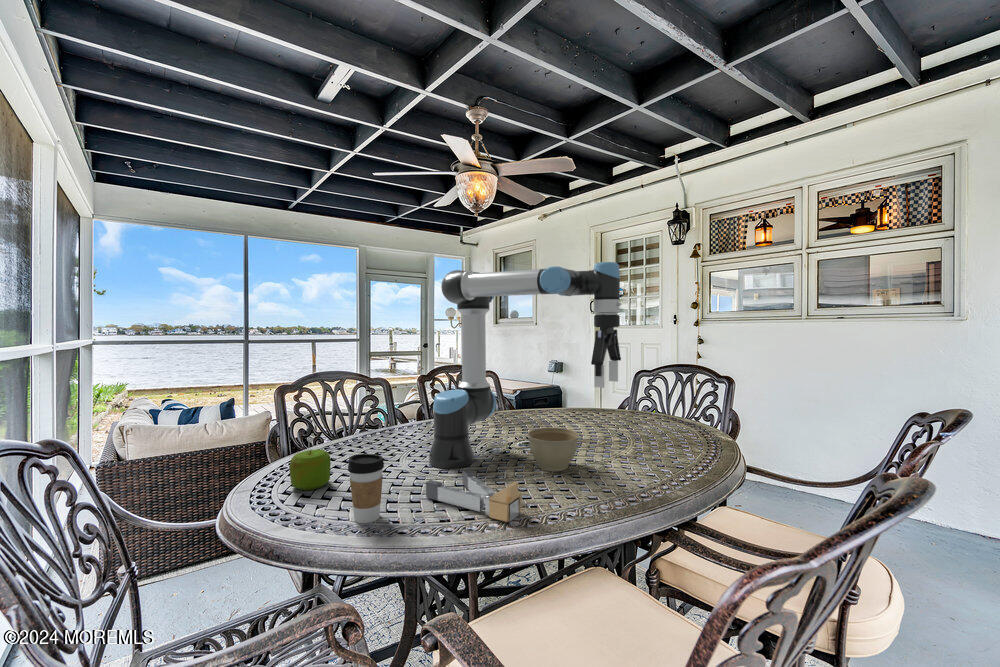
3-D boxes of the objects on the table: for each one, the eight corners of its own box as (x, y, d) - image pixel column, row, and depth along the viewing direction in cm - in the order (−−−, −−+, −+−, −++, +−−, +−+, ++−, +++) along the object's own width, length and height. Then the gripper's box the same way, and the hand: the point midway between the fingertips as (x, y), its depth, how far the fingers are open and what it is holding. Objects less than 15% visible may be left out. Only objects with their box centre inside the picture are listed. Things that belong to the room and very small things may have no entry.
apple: (322, 476, 136) (321, 441, 136) (337, 485, 128) (337, 448, 128) (284, 486, 128) (283, 449, 128) (298, 497, 121) (297, 457, 120)
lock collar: (521, 511, 110) (520, 480, 109) (507, 522, 104) (507, 489, 104) (503, 506, 112) (503, 476, 112) (489, 517, 107) (489, 485, 106)
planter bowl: (521, 472, 139) (521, 437, 138) (536, 457, 153) (536, 425, 153) (572, 478, 132) (572, 443, 132) (583, 462, 147) (583, 430, 147)
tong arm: (494, 506, 113) (494, 489, 113) (488, 507, 112) (488, 491, 112) (468, 483, 128) (468, 469, 128) (462, 484, 128) (462, 470, 127)
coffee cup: (353, 511, 111) (352, 452, 111) (387, 509, 112) (386, 451, 112) (344, 526, 103) (343, 463, 103) (381, 525, 104) (380, 462, 103)
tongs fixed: (518, 514, 109) (518, 496, 109) (510, 521, 105) (509, 502, 105) (436, 493, 122) (436, 477, 122) (426, 498, 119) (425, 482, 118)
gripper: (606, 313, 121) (605, 391, 122) (630, 314, 142) (630, 379, 143) (579, 314, 125) (580, 389, 125) (607, 314, 146) (607, 378, 147)
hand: (606, 384), depth 134 cm, fingers open, 13 cm apart
